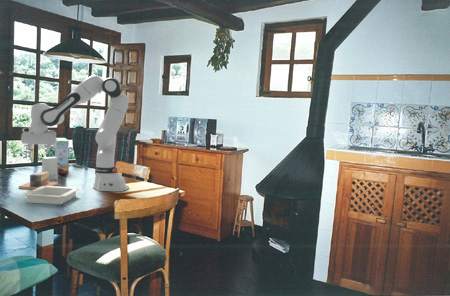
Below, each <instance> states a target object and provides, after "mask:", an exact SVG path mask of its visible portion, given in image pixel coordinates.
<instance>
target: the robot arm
mask: <svg viewBox="0 0 450 296" xmlns="http://www.w3.org/2000/svg"><path fill="white" fill-rule="evenodd" d="M101 92H104V93H105V94H107V95H108V96H109V97H110V103H109V105H108V109H107V111H106V113H105V115H104V118H103V120H102V122H101V123H100V125H99V128H98V130H97V132H96V133H95V142H96V144H98V145H97V152H96V158H95V159H96V160H95V161H96V165H95V170H94V175H95V177H94V181H93V182H94V183H93V186H92V188H93V189H94V190H97V191H99V192H125V191H127V190H129V188H130V186H129V185H128V184H126V183H127V182H126V178H125V177H124V176H122V175H121V174H120V173H118V167H116V166H115V155H116V146H117V133H118V132H119V130H120V127H121V125H122V123H123V120H124V118H125V116H126V113H127V111H128V107H129V104H130V99H129V96H128V95H126V94H125V93H123V92H122V84H121V83H120V81H119V80H118V79H116V78H114V77H107V78H105V79H103V78H101V77H100V76H99V75H97V74H92V75H90V76H89V77H87V78H85V79H84V80H82V81H81V82H80V83H79V84H78V85H76V87H74V89H72V90H71V92H70V93H69V94H68V95H67V96H66V97H65V98H63V99H62V100H61V101H60V102H58V103H57V104H56V105H55V106H53V107H52V106H49V104H47V103H43V102H41V103H40V102H39V103H35V104H33V105H32V106H31V109H30V119H31V124H30V126H28V127H23V128H22V129H21V131H22V133H21V137H20V142H21V144H24V145H25V144H26V145H27V147H28V149H29V152H34V148H33V147H32V146H33V145H40V146H41V145H42V146H43V145H44V146H46V149H44V152H45V153H49V152H50V148H51V147H52V146H55V145H56V144H57V139H56V138H57V132H56V131H55V130H53V129H52V130H51V129H48V127H55V126H58V125H60V124H63V122H64V121H65V117H66V116H65V113H67V112H68V111H69V110H71V108H73V107H75V106H77V105H80V104H84V103H87V102H88V101H90V100H91V99H93V98H94V97H95V96H96V95H97V94H98V93H101ZM124 190H125V191H124Z"/></svg>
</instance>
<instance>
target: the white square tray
mask: <svg viewBox="0 0 450 296" xmlns="http://www.w3.org/2000/svg"><path fill="white" fill-rule="evenodd" d="M79 190H80V188H78V187H74V186H73V187H71V186H70V187H69V186H59V185H57V186H45V187H44V186H41V187H39V188H36V189H34V190H31V189H30V191H26V192H24V193H23V195H25V196H26V197H27V199H26V201H27V202H26V203H31V204H32V203H35V204H48V205H49V204H50V205H63V204H65V203H66V202H68V201H69V200H71V199H73V198H75V197H77V196H76V195H77V191H79Z"/></svg>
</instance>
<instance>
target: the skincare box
mask: <svg viewBox="0 0 450 296" xmlns="http://www.w3.org/2000/svg"><path fill="white" fill-rule="evenodd" d="M57 165H58V158H57V157H55V156H46V157H45V156H44V157H41V172H49V181H53V180H58V174H57Z"/></svg>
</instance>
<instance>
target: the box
mask: <svg viewBox="0 0 450 296" xmlns="http://www.w3.org/2000/svg"><path fill="white" fill-rule="evenodd" d="M29 182H30V186H35V187H39V186H41V185H44V184H46V183H49V182H50V180H49V172H42V171H38V172H34V173H31V174H30V175H29Z"/></svg>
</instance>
